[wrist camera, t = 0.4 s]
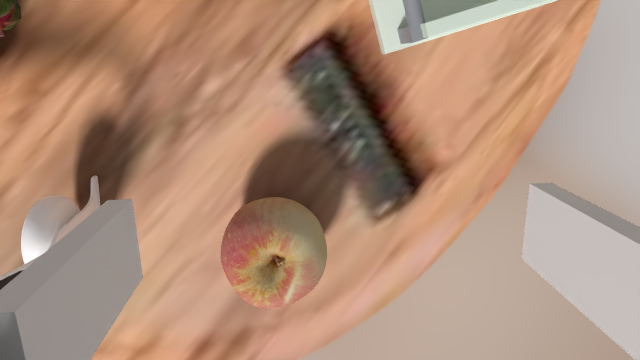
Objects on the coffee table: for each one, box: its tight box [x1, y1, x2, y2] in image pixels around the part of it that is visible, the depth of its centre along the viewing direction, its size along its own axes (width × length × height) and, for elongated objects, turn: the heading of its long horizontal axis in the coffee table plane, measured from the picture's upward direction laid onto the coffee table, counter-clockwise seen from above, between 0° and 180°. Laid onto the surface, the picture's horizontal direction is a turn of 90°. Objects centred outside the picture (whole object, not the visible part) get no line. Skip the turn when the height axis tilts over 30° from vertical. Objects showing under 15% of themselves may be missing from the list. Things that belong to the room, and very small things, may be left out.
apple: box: [221, 197, 327, 308], centre depth 39 cm, size 9×9×8 cm
